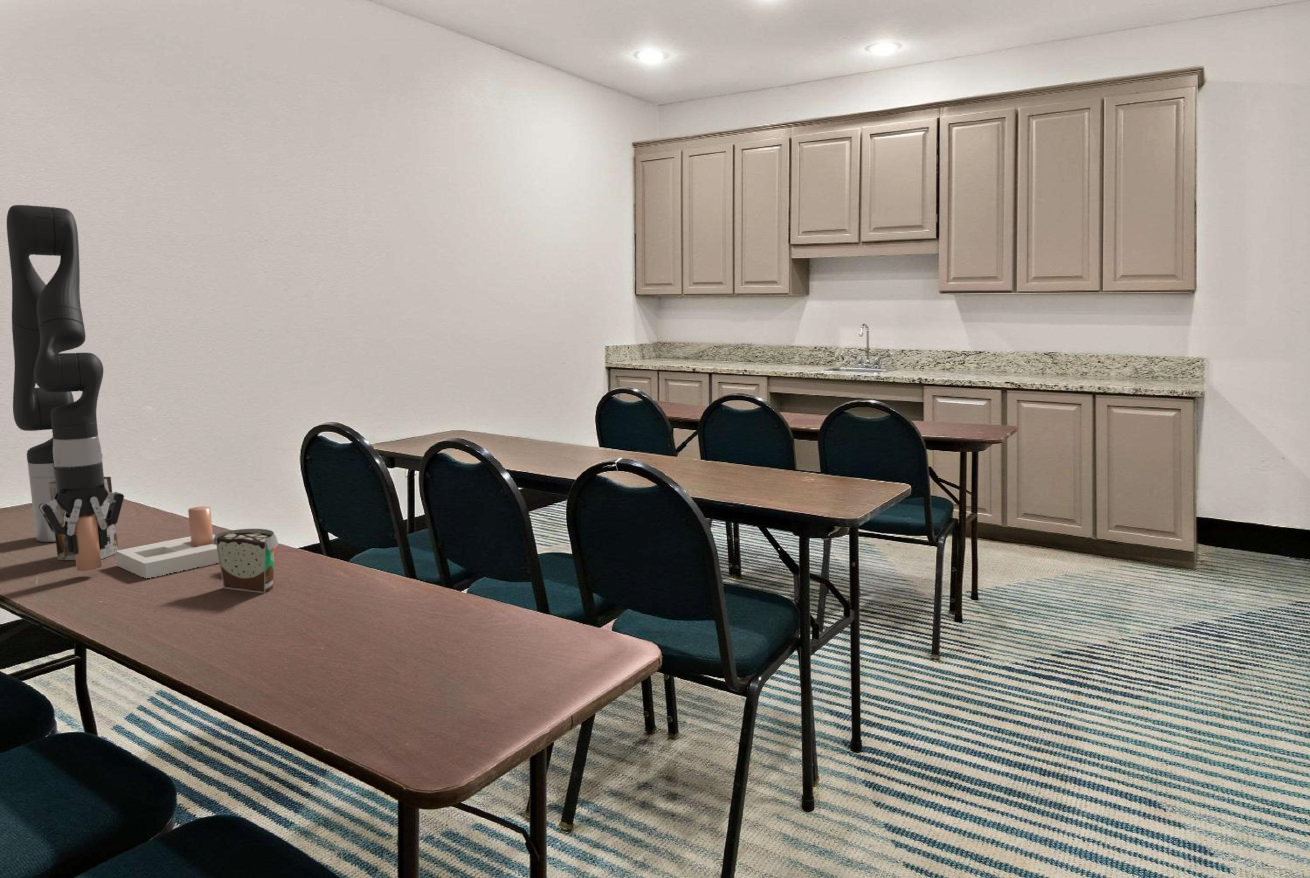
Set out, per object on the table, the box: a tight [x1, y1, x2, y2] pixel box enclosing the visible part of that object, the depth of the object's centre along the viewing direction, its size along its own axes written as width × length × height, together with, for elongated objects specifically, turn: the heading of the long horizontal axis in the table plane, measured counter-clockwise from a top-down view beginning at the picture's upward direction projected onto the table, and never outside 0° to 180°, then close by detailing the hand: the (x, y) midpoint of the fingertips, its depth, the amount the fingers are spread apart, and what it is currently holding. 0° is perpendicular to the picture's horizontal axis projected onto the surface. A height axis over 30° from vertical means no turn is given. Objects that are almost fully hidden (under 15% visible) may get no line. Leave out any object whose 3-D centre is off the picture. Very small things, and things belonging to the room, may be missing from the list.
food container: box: [214, 528, 279, 594], centre depth 161 cm, size 12×6×10 cm, turn 71°
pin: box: [74, 514, 102, 572], centre depth 167 cm, size 4×4×10 cm
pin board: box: [115, 506, 219, 580], centre depth 177 cm, size 14×18×10 cm
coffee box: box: [49, 476, 119, 561], centre depth 180 cm, size 9×6×16 cm
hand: (87, 550), depth 167 cm, fingers closed on pin, 4 cm apart
